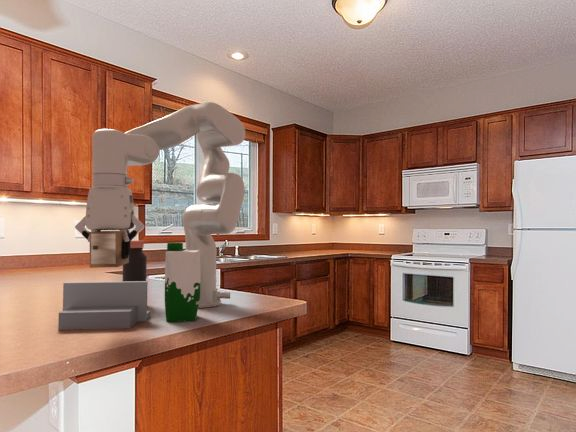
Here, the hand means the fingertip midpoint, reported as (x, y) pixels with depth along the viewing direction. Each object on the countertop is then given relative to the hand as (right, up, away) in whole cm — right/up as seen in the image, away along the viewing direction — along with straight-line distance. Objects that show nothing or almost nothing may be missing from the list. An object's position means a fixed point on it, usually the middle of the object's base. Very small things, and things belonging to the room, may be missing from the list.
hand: (110, 257), depth 92 cm
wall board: (-4, -17, +6) cm, 18 cm away
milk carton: (+14, -17, +11) cm, 25 cm away
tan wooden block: (0, -2, 0) cm, 2 cm away
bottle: (-5, -18, +27) cm, 33 cm away
